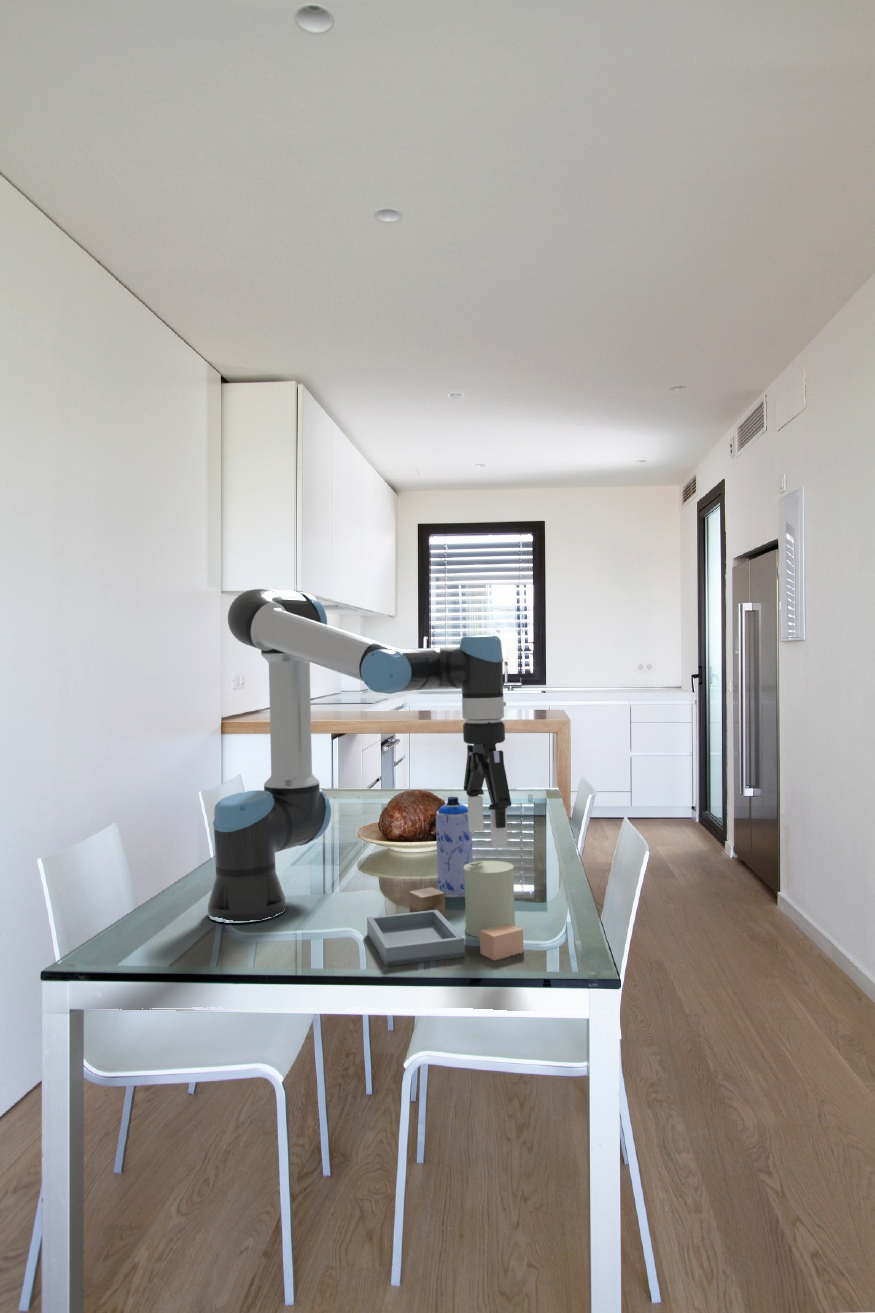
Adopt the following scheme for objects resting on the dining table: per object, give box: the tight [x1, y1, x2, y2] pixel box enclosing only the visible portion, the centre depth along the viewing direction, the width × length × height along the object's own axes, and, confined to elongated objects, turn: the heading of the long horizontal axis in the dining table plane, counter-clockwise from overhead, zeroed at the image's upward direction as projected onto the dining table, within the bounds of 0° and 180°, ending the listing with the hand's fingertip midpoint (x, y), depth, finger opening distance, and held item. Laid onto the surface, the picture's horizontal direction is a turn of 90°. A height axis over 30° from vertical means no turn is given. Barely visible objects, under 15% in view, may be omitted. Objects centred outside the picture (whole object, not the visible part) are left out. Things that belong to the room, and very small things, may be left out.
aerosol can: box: [435, 796, 474, 898], centre depth 181 cm, size 8×8×20 cm
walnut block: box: [408, 886, 446, 918], centre depth 164 cm, size 5×5×5 cm
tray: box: [366, 910, 466, 968], centre depth 148 cm, size 17×13×3 cm
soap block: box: [479, 924, 524, 961], centre depth 143 cm, size 6×4×4 cm, turn 122°
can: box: [463, 860, 516, 938], centre depth 155 cm, size 9×9×12 cm
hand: (487, 838), depth 155 cm, fingers open, 13 cm apart
